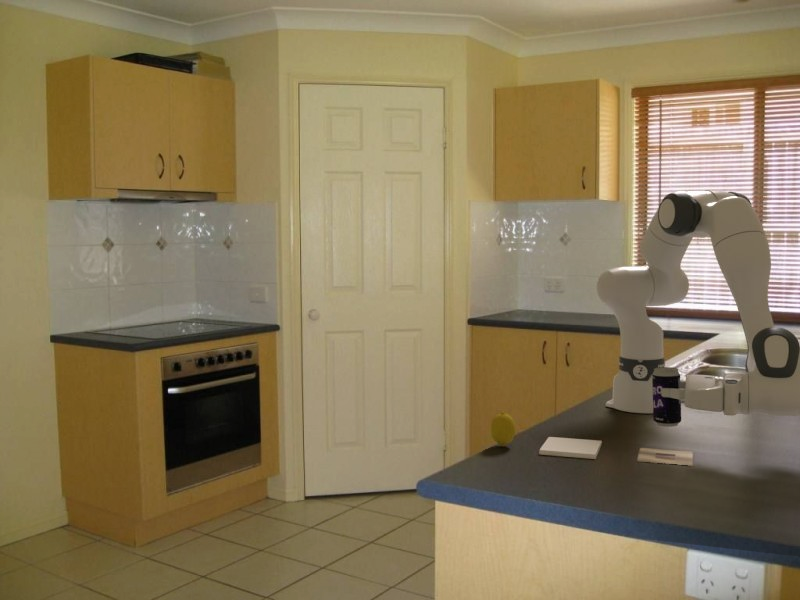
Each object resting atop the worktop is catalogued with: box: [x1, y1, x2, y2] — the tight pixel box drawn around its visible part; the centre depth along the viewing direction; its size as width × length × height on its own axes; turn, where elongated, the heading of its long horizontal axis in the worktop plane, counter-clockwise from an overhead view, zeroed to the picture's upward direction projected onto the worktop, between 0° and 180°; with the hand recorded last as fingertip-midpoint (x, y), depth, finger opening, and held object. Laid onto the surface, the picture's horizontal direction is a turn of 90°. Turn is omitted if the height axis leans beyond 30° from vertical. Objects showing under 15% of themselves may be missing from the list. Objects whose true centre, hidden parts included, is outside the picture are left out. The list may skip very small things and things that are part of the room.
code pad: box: [636, 447, 694, 467], centre depth 174 cm, size 11×11×1 cm
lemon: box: [490, 411, 516, 448], centre depth 184 cm, size 6×6×8 cm
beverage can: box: [652, 366, 682, 428], centre depth 173 cm, size 6×6×12 cm
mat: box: [538, 436, 603, 460], centre depth 181 cm, size 12×12×1 cm
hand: (662, 388), depth 173 cm, fingers closed on beverage can, 6 cm apart
